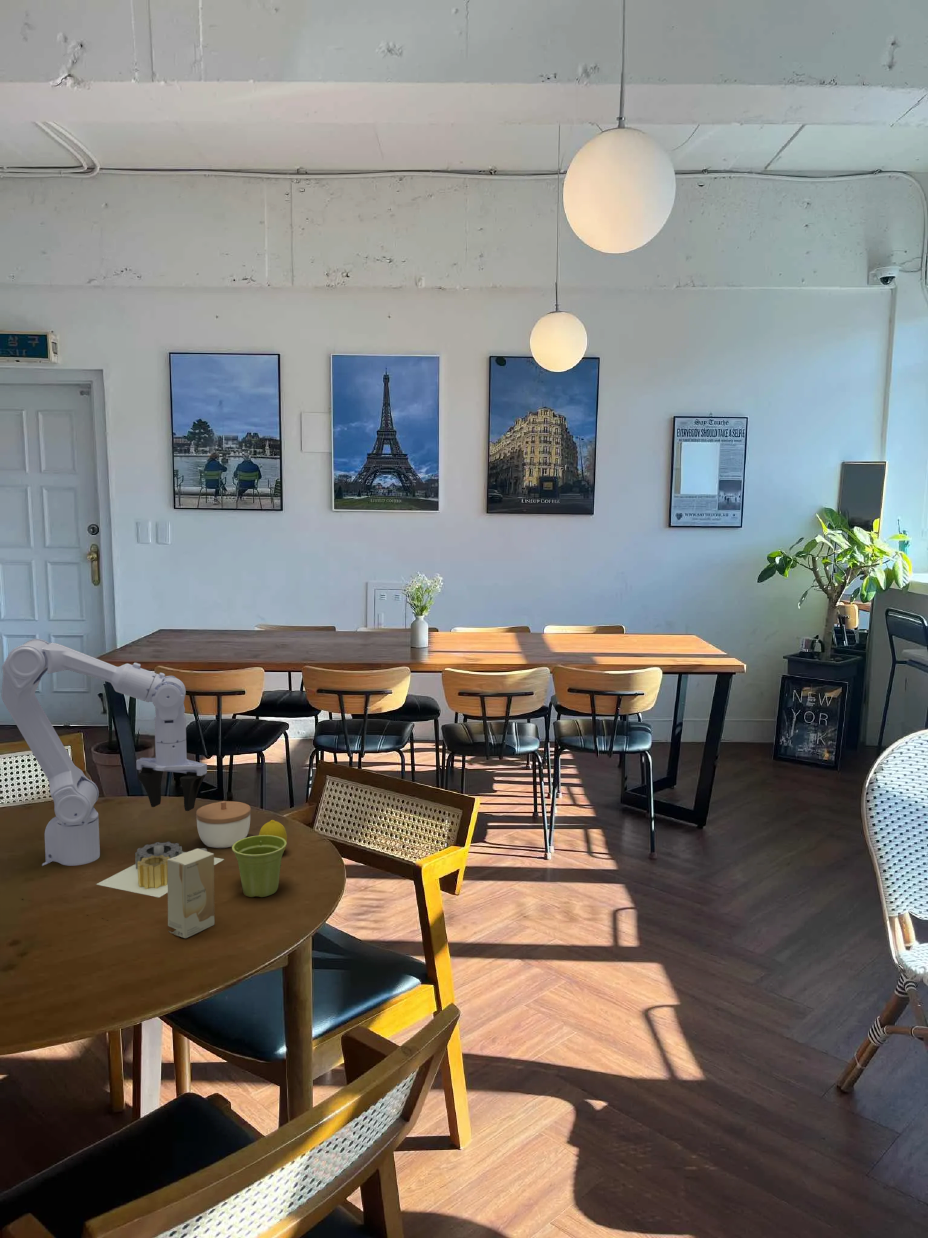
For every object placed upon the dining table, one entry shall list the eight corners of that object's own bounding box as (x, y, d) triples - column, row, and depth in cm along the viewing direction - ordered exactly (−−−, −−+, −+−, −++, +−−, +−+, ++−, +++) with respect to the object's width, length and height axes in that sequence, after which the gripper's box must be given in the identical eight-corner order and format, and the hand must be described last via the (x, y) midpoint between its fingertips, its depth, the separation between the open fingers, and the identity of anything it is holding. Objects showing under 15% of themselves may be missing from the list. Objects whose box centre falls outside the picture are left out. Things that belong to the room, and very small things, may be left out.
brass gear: (131, 885, 148) (130, 863, 148) (155, 874, 153) (154, 853, 153) (153, 891, 146) (153, 869, 145) (177, 880, 151) (177, 858, 150)
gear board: (96, 890, 149) (95, 865, 148) (165, 854, 165) (165, 831, 165) (159, 904, 144) (158, 877, 143) (224, 865, 160) (223, 841, 160)
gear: (126, 870, 155) (125, 854, 155) (157, 854, 162) (156, 839, 162) (161, 877, 152) (161, 861, 152) (191, 860, 160) (190, 845, 159)
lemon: (280, 866, 160) (279, 826, 159) (253, 863, 161) (253, 823, 161) (291, 855, 166) (291, 816, 165) (266, 853, 167) (265, 814, 166)
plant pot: (252, 908, 143) (251, 859, 142) (222, 891, 149) (221, 844, 148) (297, 891, 150) (296, 844, 149) (267, 875, 156) (266, 831, 155)
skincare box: (185, 940, 131) (183, 865, 130) (167, 933, 134) (164, 859, 132) (217, 924, 137) (215, 852, 135) (199, 917, 139) (197, 846, 138)
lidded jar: (259, 849, 169) (258, 804, 168) (206, 860, 163) (205, 814, 162) (241, 833, 177) (240, 790, 176) (190, 843, 171) (189, 799, 170)
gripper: (125, 742, 160) (127, 810, 162) (191, 748, 156) (193, 818, 158) (148, 733, 167) (150, 799, 168) (212, 739, 163) (213, 806, 165)
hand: (172, 807), depth 164 cm, fingers open, 7 cm apart
